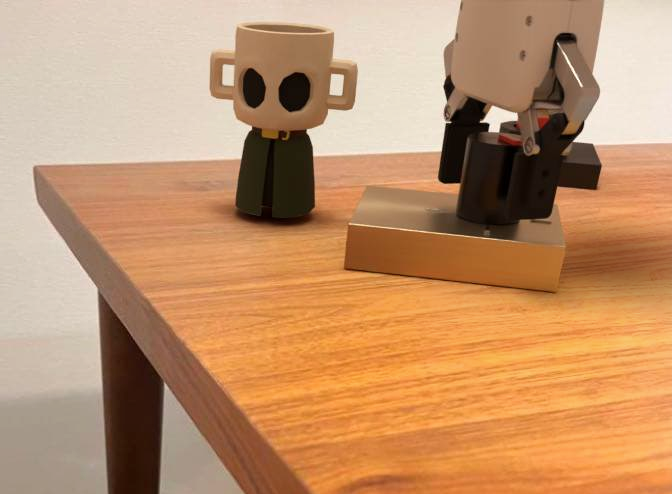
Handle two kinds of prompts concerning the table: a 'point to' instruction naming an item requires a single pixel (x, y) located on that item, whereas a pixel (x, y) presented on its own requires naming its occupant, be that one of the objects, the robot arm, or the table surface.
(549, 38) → the robot arm
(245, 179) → the character mug
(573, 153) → the button box
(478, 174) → the knob
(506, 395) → the table surface
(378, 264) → the panel
